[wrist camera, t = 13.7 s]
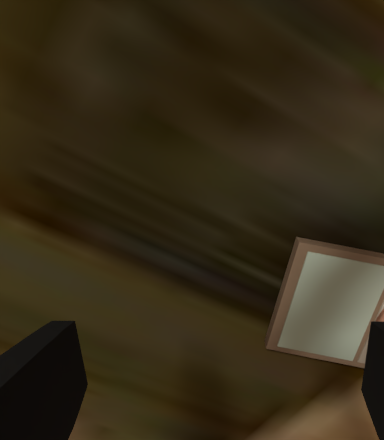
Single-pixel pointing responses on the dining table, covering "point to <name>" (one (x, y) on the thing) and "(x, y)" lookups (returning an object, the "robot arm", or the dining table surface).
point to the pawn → (381, 317)
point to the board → (327, 302)
